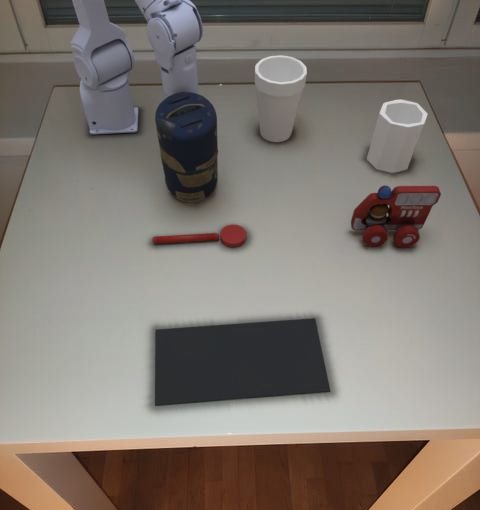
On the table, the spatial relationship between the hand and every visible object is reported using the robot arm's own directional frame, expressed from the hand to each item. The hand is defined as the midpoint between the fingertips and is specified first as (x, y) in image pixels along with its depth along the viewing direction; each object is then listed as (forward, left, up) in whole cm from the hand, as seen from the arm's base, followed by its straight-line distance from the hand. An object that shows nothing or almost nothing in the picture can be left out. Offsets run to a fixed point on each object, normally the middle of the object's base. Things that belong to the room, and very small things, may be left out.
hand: (188, 159), depth 88 cm
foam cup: (+18, +10, -3) cm, 21 cm away
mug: (+39, +2, -3) cm, 39 cm away
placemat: (+6, -41, -3) cm, 42 cm away
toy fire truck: (+33, -19, -3) cm, 38 cm away
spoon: (+2, -18, -3) cm, 18 cm away
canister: (0, -5, -2) cm, 5 cm away
